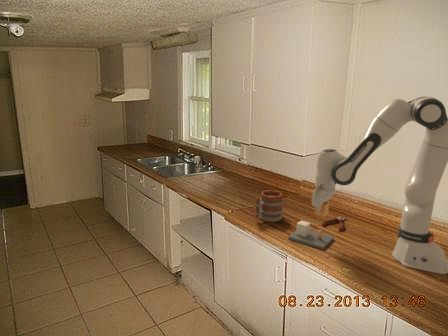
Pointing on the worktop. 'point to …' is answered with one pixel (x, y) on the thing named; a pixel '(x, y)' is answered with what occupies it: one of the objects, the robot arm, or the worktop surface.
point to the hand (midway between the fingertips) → (321, 210)
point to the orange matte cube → (323, 210)
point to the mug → (269, 206)
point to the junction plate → (310, 236)
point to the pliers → (335, 222)
